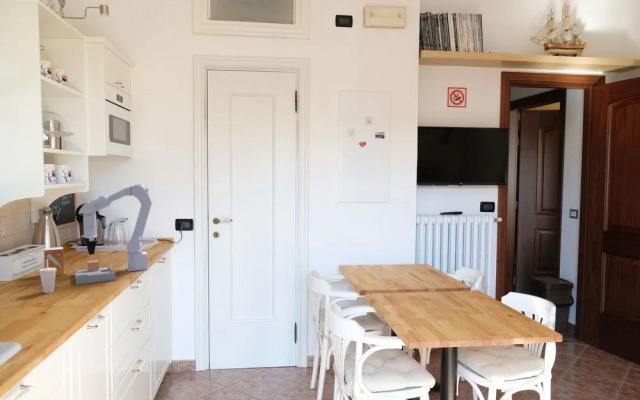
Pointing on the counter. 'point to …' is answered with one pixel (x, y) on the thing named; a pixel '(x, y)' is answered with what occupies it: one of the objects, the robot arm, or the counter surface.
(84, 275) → the trap board
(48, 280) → the smoothie
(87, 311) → the counter surface
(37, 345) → the counter surface
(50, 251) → the small box
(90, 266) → the block
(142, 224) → the robot arm
